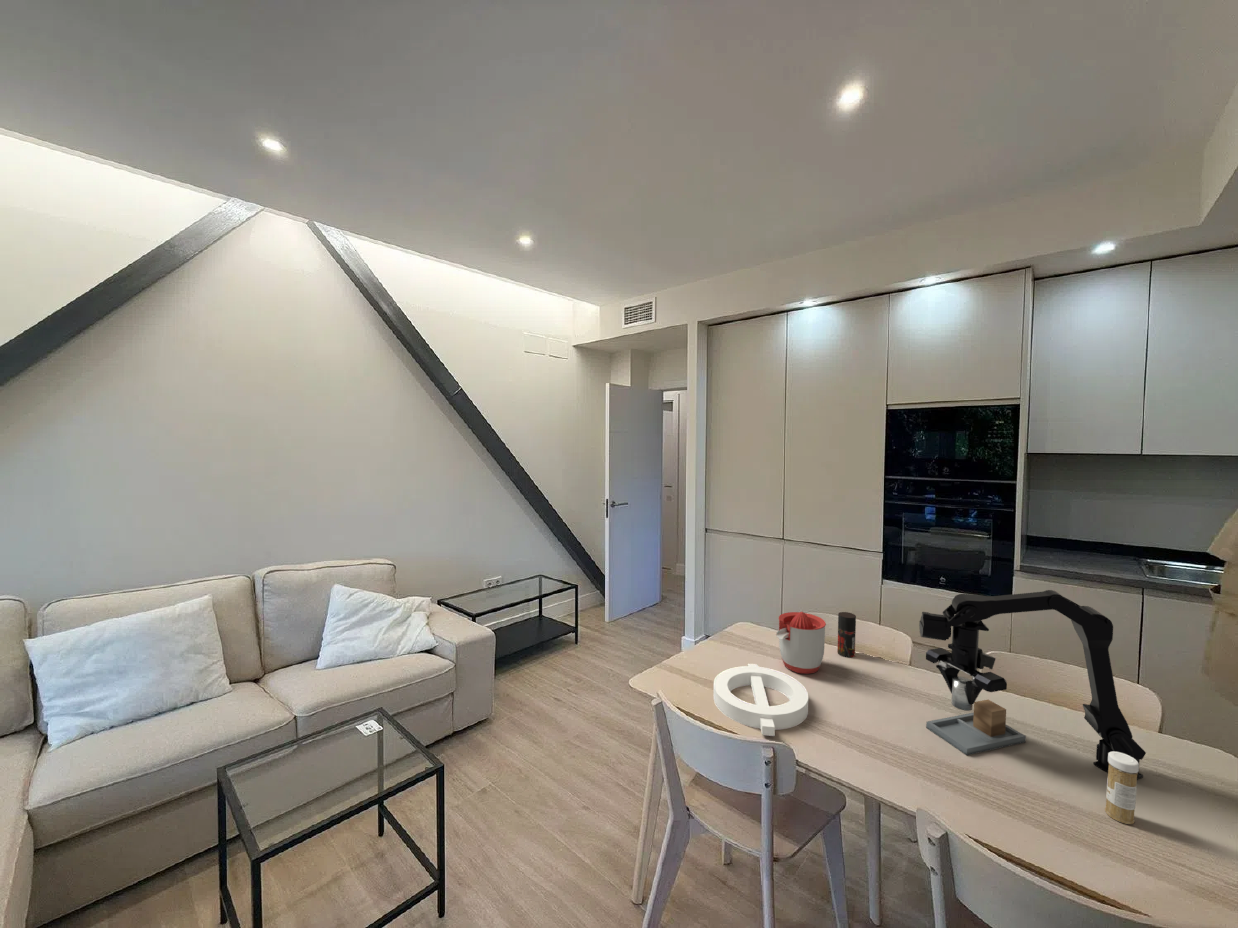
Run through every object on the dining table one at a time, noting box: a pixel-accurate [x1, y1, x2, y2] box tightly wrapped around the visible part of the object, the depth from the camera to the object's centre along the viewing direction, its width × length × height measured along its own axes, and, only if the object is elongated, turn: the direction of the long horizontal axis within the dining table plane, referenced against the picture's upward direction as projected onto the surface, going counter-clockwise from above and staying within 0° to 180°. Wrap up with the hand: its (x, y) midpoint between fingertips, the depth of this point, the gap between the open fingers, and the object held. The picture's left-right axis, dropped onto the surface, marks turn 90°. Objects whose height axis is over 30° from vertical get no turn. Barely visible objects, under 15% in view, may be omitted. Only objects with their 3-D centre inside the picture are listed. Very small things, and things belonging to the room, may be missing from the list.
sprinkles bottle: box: [1104, 751, 1140, 825], centre depth 103 cm, size 5×5×13 cm
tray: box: [925, 712, 1027, 756], centre depth 132 cm, size 12×20×2 cm, turn 104°
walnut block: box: [973, 699, 1007, 737], centre depth 133 cm, size 5×5×7 cm
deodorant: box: [837, 611, 857, 659], centre depth 180 cm, size 6×6×15 cm
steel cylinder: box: [950, 675, 974, 712], centre depth 130 cm, size 5×5×7 cm
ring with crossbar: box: [713, 663, 809, 737], centre depth 149 cm, size 28×28×5 cm
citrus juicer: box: [775, 611, 827, 674], centre depth 170 cm, size 16×17×20 cm
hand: (962, 699), depth 130 cm, fingers closed on steel cylinder, 5 cm apart
